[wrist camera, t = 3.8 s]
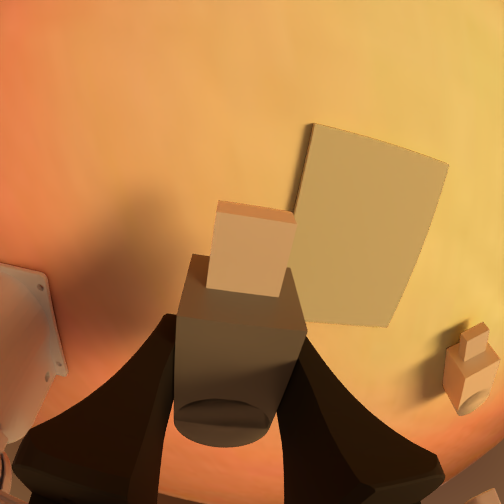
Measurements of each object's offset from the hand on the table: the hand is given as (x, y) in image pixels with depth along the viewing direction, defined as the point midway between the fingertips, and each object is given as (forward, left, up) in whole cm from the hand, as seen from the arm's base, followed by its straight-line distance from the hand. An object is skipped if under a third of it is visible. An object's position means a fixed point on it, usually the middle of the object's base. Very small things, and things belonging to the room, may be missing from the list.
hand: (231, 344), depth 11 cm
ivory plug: (-7, -21, -7) cm, 23 cm away
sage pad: (+2, -7, -7) cm, 10 cm away
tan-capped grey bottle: (0, 0, -2) cm, 2 cm away
